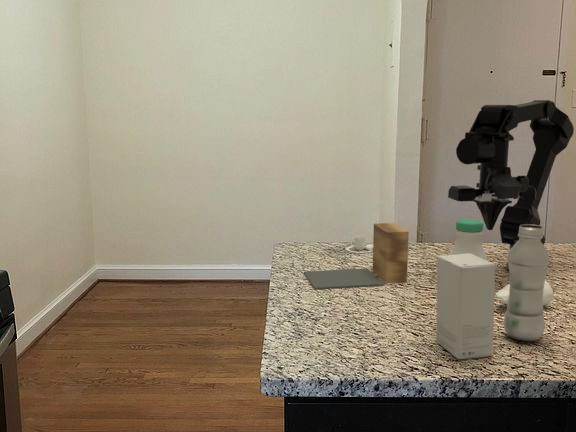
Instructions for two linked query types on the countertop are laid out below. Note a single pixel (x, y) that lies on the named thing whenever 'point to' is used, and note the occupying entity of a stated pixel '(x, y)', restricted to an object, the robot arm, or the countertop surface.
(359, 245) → the teacup and saucer
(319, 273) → the mat
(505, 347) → the countertop surface
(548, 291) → the roll
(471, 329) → the skincare box
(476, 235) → the milk bottle
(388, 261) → the tan and teal block
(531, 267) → the plastic bottle
